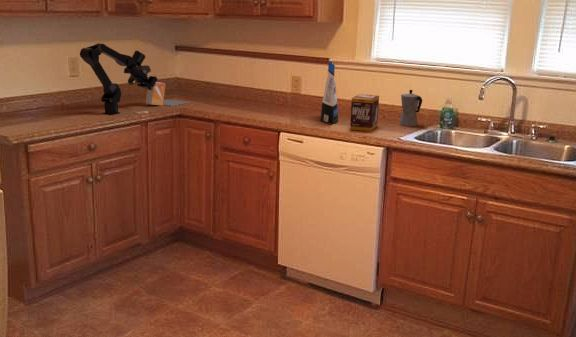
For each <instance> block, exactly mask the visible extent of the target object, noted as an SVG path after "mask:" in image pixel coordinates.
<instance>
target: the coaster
mask: <svg viewBox="0 0 576 337" xmlns="http://www.w3.org/2000/svg"><path fill="white" fill-rule="evenodd" d="M134 114H136V115H145V114H148V111H147V110H136V111H134Z"/></svg>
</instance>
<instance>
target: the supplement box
mask: <svg viewBox="0 0 576 337" xmlns="http://www.w3.org/2000/svg"><path fill="white" fill-rule="evenodd" d="M379 103H380V95H377V94H363V93H359V94H357V95H355V96H353V97H352V98H351V106H350V109H351V110H350V124H349V125H350V127H349V129H350V130H353V131H354V130H356V131H366V132H371V131H372V130H374V129H375V128H376V127H378V120H379V119H378V118H379V107H380V106H379V105H380V104H379Z"/></svg>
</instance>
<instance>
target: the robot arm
mask: <svg viewBox="0 0 576 337" xmlns="http://www.w3.org/2000/svg"><path fill="white" fill-rule="evenodd" d="M102 54H103V55H104V56H106V57H109V58H111V59H113V60H114V61H115V63H116V64H117V65H119V66H121V67H124V68H123V69H124V70H123V73H124V74H129V75H130V76H129V77H128V79H127V83H128V84H129V85H130V86H133V85H134V83H135V84H136V86H137V87H139V88H142V89H146V90H147V89H148V90H151V87H154V85H155V83H156V82H158V77H157V76H154V75H149V76H148V74H149V73H151V71H152V70H151V67H150V65H142V64H143V63H144V60H145V59H146V55H145V54H143V52H141V51H139V50H135V51H134V52H133V55H132V56H130V55H127V54H123V53H121V52H118V51H117V50H115V49H113V48H112V47H109V46H108V45H106V44H105V43H102V42H101V43H95V44H94V45H90V46H87V47H82V48H81V49H80V51H79V57H80V58H81V59H82V61H84V62H85V63H86V64H87V65H89V66H90V67H91V69H92V70H93V72H94V74H95V75H96V77H97V79H98V80H99V83H101V85H102V87H103V88H102V89H103V94H102V96H101V97H100V100H101V102H102V103H104V111H103V112H102V114H103V115H104V114H105V115H116V114H118V115H119V114H120V113H121V112H120V111H119V105H118V103H120V101H121V98H122V97H121V96H122V90H121V88H120V86H119V84H118V83H116V82H115V83H113V82H112V80H111V79H110V76H108V74H107V72H106V71H105V69H104V67H103V66H102V64H101V62H100V56H102Z"/></svg>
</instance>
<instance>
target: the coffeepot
mask: <svg viewBox="0 0 576 337" xmlns="http://www.w3.org/2000/svg"><path fill="white" fill-rule="evenodd" d="M400 96H401V99H400V100H401V108H402V112H401V115H400V120H399V123H398V124H399V125H400V126H403V127H417V126H418V124H419V123H418V115H417V114H418V113H419V112H420V110H421V107H422V104H423V98H422V97H421V95H418V94H415V93H413V89H409V93H402V94H401V95H400Z"/></svg>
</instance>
